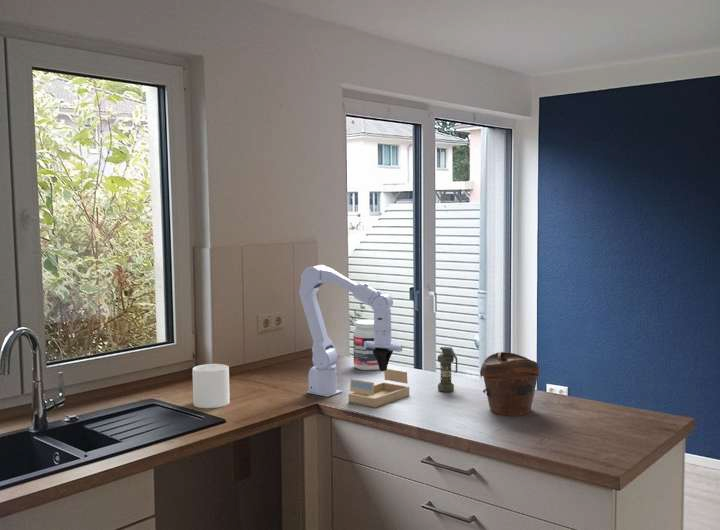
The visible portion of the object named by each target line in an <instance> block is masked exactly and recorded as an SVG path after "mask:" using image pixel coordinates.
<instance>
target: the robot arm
mask: <svg viewBox="0 0 720 530" xmlns="http://www.w3.org/2000/svg"><path fill="white" fill-rule="evenodd" d="M300 279H301V281H300V287H299V291H298V293H299V297H300V300H301V304H302V308H303V311H304V314H305V318H306V321H307V325H308V328H309V331H310V334H311V338H312V341H313V342H312V347H311V352H312V359H311V361H312V364H313V366H312V367H310V369H309V370H308V390H307V392H306V393H308V394H313V395H316V396H317V395H318V396H323V397H331V396H335V395H338V394H341V393H343V390H341V389H338V383H337V381H338V380H337V361H338V360H339V358H340V357H339V356H340V354H339V351H338V349H337V348H336V346H335V345H334V343H333V341H332V339H331V338H330V337H329V335H328V332H327V328H326V325H325V322H324V318H323V314H322V310H321V307H320V304H319V301H318V297H317V292H318V291H319V289H320V288H321V286H322V285H324V284H328V283H331V284H334V285H335V286H338V287H340V288H342V289H344V290H347V291H348V292H350V293H351V294H352V296H353V298H354V299H356V300H358V301H360V302H362V303H363V304H364V305H366V306H369V307H370V308H371V309H372V311H373V320H374V341H365V342H364V347H366V348H367V347H370V348H375V350H373V354H374V355H375V357H376V360H377V362H378V365H379V371H380V372H384V371H386V370H387V369H388V364H389V361H390V359H391V357H392V355H393V352H397V353H400V352H403V344H402V345H401V344H398V343H395V342H392V309H391V308H392V307H393V305H394V300H393V297H392V296H391V295H390V294H389V293H388V292H387V293H386V292H382V291H381V290H380V289H378V290H377V289H375V288H373V287H371V286H370V284H369V283H368V282H364V283H363V282H360V283H356V282H355V281H353V280H352V279H349V278H348V277H346V276H344V275H342V274H341V273H339V272H338V271H336V270H335V269H333V268H332V267H329V266H326V265H325V264H317V265H314V266H308V267H306V268H305V269H304V270H303V272H302V274H300Z"/></svg>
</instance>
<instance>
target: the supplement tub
mask: <svg viewBox="0 0 720 530" xmlns="http://www.w3.org/2000/svg"><path fill="white" fill-rule="evenodd" d="M354 326H355V329H354V331H353V335H352V337H353V366H354V367H355V369H357V370H362V371H377V370H379V371H380V369H379V365H378V362H377V360H376V357H375V355H374V354H373V350H375V348H370V347H367V348H366V347H364V342H365V341H374V319H360V320H356V321H355V322H354Z"/></svg>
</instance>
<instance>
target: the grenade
mask: <svg viewBox="0 0 720 530" xmlns="http://www.w3.org/2000/svg"><path fill="white" fill-rule="evenodd" d="M439 350H441V353H440V354H438V356H437V362H439V363H440V364H439V365H440V382H439V383H438V384H437V390H438V391H440V392H443V393H450V392H453V391H454V389H455V384H454V383H452V363H453V362H454V361H455V371H453V373H454V374H456V373H458V357H457V355H456V353H455V351H454V349H453V347H451V346H441V347H440V348H439Z"/></svg>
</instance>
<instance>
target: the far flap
mask: <svg viewBox="0 0 720 530" xmlns="http://www.w3.org/2000/svg"><path fill="white" fill-rule="evenodd" d="M383 374H384V380H385V381H389V382H395V383H401V384H409V383H408V371H403V370H398V369H391V368H387V370H386V371H383Z"/></svg>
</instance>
